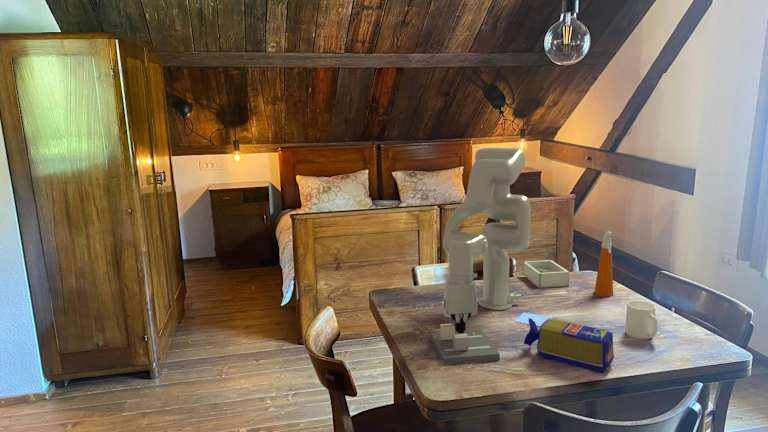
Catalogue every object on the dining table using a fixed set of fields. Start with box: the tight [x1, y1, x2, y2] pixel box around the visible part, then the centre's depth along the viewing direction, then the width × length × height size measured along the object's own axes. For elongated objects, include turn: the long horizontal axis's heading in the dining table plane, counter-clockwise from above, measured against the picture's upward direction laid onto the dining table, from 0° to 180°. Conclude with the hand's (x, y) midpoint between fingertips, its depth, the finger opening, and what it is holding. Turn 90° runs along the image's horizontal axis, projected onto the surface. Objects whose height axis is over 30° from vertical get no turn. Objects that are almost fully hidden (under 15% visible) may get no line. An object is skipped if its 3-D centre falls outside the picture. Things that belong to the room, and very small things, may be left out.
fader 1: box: [439, 323, 456, 340], centre depth 169 cm, size 4×3×4 cm
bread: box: [523, 317, 615, 374], centre depth 158 cm, size 10×25×10 cm, turn 53°
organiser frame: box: [522, 259, 570, 289], centre depth 229 cm, size 13×18×6 cm
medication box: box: [535, 267, 552, 273], centre depth 231 cm, size 12×3×4 cm, turn 38°
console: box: [430, 329, 501, 365], centre depth 166 cm, size 17×18×2 cm
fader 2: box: [453, 333, 469, 351], centre depth 162 cm, size 4×3×4 cm
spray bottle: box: [594, 231, 614, 297], centre depth 208 cm, size 7×11×26 cm, turn 167°
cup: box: [624, 300, 658, 340], centre depth 171 cm, size 8×12×10 cm
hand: (460, 332), depth 170 cm, fingers closed
